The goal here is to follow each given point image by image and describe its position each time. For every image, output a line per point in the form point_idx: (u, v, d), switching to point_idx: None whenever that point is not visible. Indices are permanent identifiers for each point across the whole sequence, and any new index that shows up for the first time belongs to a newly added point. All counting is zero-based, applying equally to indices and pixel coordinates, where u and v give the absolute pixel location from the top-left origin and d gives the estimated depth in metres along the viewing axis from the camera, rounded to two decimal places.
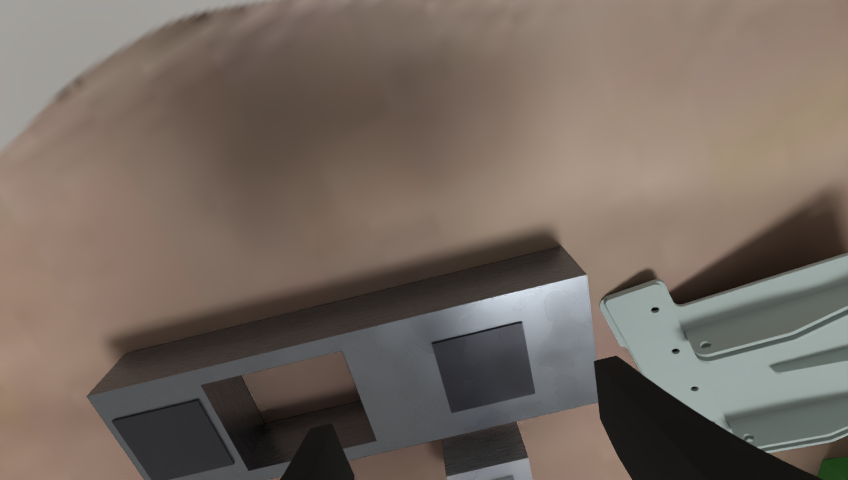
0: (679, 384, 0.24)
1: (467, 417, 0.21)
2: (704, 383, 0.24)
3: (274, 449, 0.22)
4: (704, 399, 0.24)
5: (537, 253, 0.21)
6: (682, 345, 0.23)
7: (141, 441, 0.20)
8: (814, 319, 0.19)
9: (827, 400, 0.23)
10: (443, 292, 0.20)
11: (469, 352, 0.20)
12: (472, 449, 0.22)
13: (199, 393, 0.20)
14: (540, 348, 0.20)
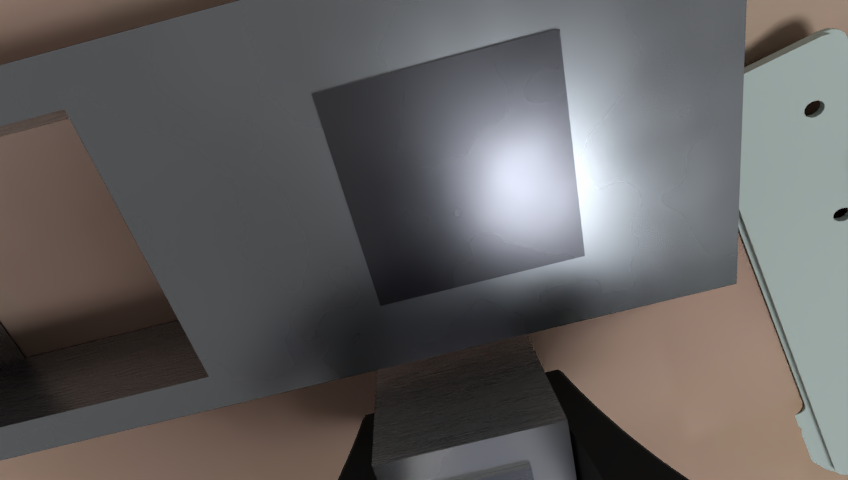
0: (835, 293, 0.12)
1: (420, 320, 0.09)
2: None
3: (1, 402, 0.10)
4: None
5: None
6: None
7: None
8: None
9: None
10: None
11: (418, 127, 0.07)
12: (436, 407, 0.10)
13: None
14: (602, 123, 0.08)
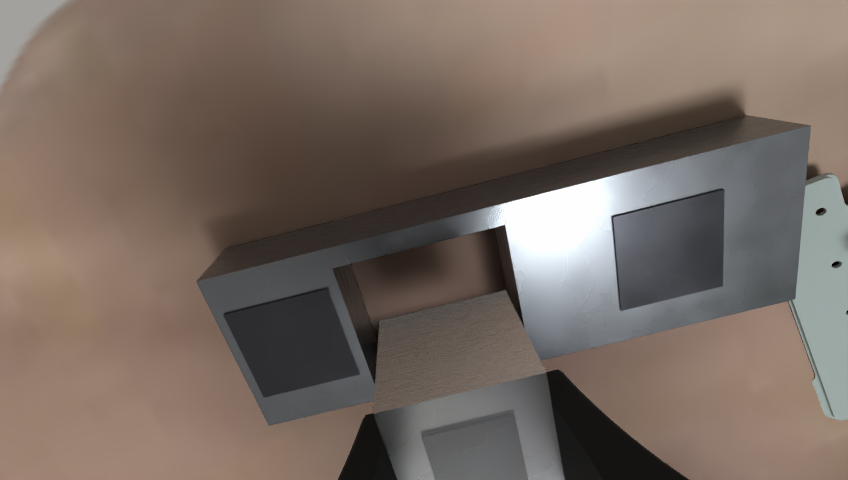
0: (833, 307, 0.21)
1: (637, 318, 0.18)
2: None
3: None
4: None
5: (718, 123, 0.18)
6: (846, 256, 0.20)
7: (253, 343, 0.17)
8: None
9: None
10: (618, 160, 0.17)
11: (654, 229, 0.16)
12: (432, 366, 0.11)
13: (330, 279, 0.16)
14: (737, 226, 0.16)
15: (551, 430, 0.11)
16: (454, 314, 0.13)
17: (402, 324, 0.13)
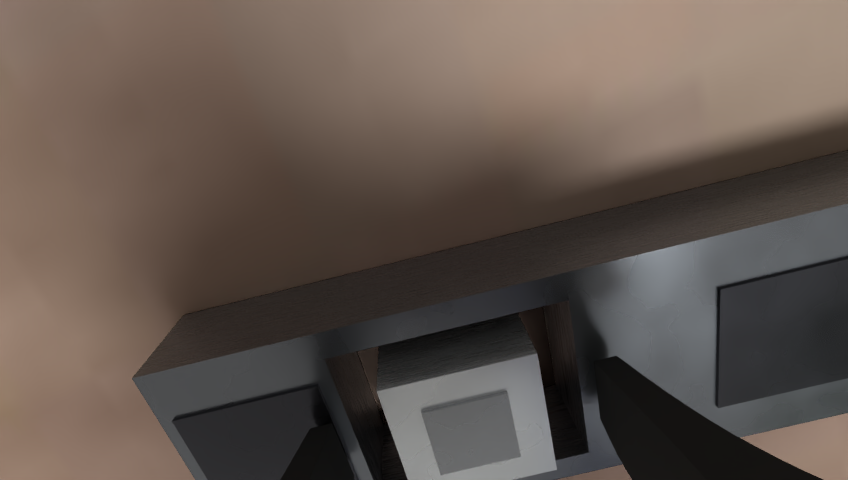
0: None
1: (738, 415, 0.13)
2: None
3: None
4: None
5: (846, 152, 0.13)
6: None
7: (217, 454, 0.12)
8: None
9: None
10: (720, 206, 0.12)
11: (774, 304, 0.12)
12: (431, 348, 0.12)
13: (321, 372, 0.12)
14: None
15: (541, 407, 0.11)
16: None
17: None
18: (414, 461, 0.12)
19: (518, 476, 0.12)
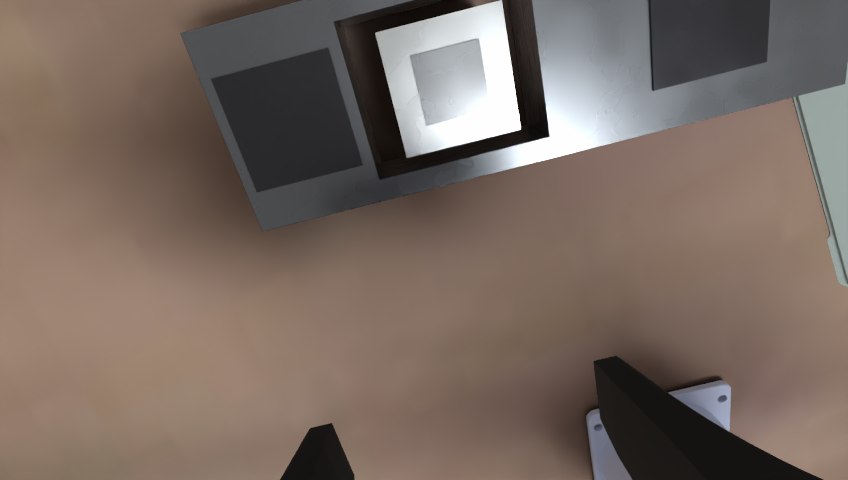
0: None
1: (671, 102, 0.16)
2: None
3: (406, 167, 0.17)
4: None
5: None
6: None
7: (245, 120, 0.15)
8: None
9: None
10: None
11: None
12: None
13: (331, 35, 0.14)
14: None
15: (506, 58, 0.14)
16: None
17: None
18: (405, 112, 0.15)
19: (489, 135, 0.15)
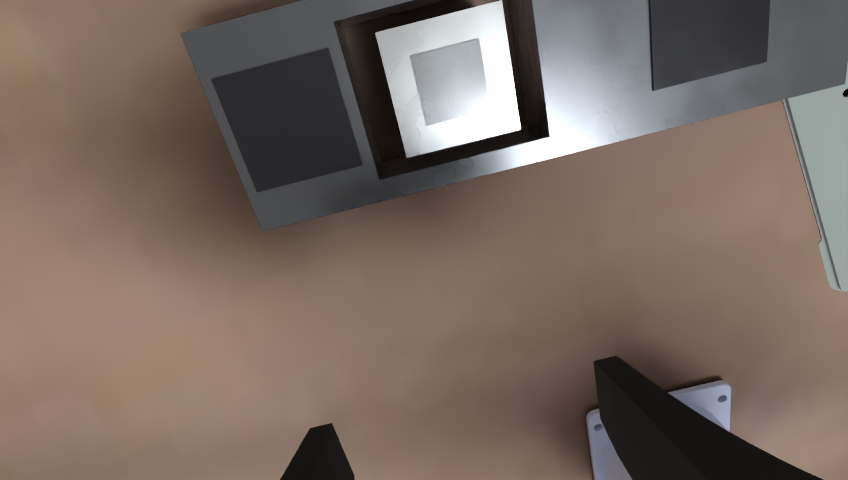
0: (843, 148, 0.20)
1: (671, 102, 0.16)
2: None
3: (406, 167, 0.17)
4: None
5: None
6: None
7: (245, 120, 0.15)
8: None
9: None
10: None
11: None
12: None
13: (331, 35, 0.14)
14: None
15: (506, 59, 0.14)
16: None
17: None
18: (405, 112, 0.15)
19: (489, 135, 0.15)
